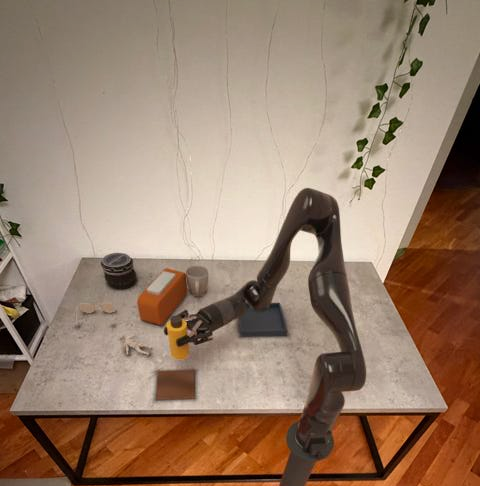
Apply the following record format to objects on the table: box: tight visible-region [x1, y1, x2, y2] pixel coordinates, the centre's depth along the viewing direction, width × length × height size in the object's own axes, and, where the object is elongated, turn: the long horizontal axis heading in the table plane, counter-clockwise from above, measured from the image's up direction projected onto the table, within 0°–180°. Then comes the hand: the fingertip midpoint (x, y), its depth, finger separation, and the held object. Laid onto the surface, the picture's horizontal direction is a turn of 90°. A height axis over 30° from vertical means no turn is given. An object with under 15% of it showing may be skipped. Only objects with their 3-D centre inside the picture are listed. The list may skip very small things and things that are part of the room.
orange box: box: [136, 267, 188, 326], centre depth 129 cm, size 24×8×11 cm, turn 161°
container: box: [100, 252, 137, 290], centre depth 139 cm, size 13×13×10 cm
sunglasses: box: [75, 302, 116, 327], centre depth 125 cm, size 14×8×5 cm, turn 95°
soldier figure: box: [118, 333, 153, 357], centre depth 117 cm, size 8×5×12 cm
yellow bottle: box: [166, 314, 191, 361], centre depth 98 cm, size 6×6×13 cm
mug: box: [185, 265, 209, 297], centre depth 136 cm, size 12×9×10 cm
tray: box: [238, 302, 288, 338], centre depth 130 cm, size 17×17×2 cm
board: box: [155, 369, 196, 401], centre depth 109 cm, size 12×12×1 cm
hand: (170, 337), depth 96 cm, fingers closed on yellow bottle, 5 cm apart
